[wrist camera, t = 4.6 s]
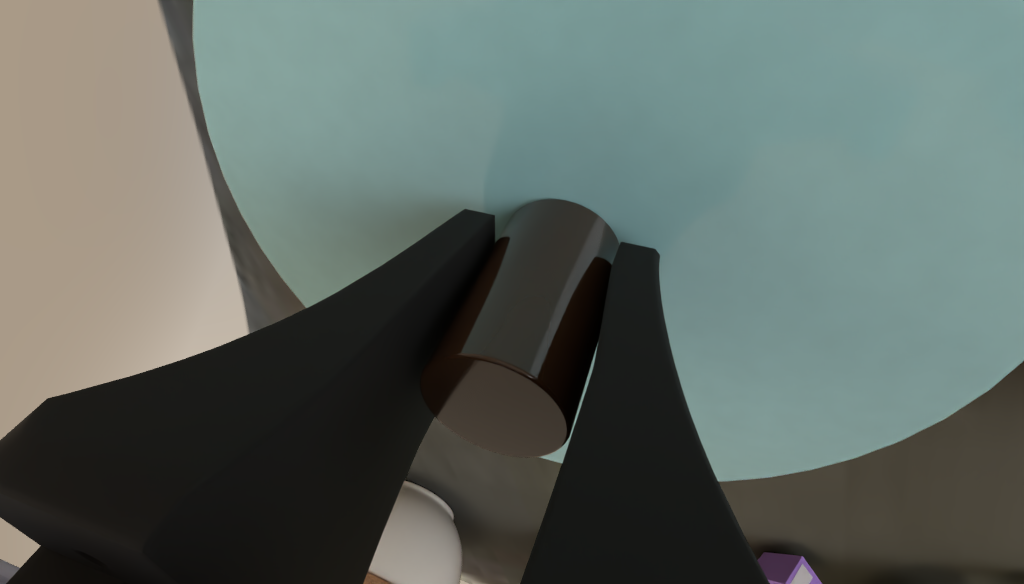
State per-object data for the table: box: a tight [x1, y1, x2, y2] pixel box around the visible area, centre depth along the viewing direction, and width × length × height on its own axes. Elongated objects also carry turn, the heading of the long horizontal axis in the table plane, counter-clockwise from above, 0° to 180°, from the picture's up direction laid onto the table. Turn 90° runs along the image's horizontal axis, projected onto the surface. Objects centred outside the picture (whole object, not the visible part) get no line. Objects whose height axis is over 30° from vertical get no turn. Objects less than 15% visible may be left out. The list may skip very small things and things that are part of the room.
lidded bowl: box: [363, 481, 462, 584], centre depth 44 cm, size 13×13×11 cm
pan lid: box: [193, 0, 1024, 481], centre depth 10 cm, size 16×16×5 cm
